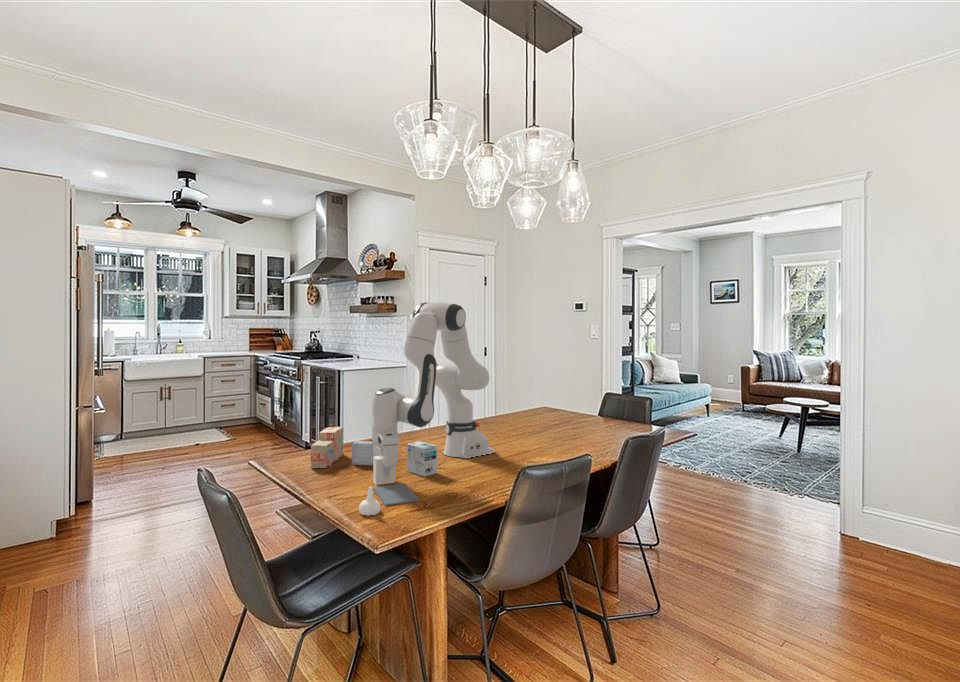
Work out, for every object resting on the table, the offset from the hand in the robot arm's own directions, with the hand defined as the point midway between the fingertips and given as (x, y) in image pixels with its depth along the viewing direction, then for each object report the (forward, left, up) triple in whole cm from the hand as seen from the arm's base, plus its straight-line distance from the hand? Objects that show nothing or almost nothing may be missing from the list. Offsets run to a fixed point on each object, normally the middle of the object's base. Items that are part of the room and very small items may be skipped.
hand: (384, 473), depth 174 cm
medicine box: (+2, -26, -3) cm, 26 cm away
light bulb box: (-16, -6, -3) cm, 17 cm away
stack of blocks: (+14, -35, -4) cm, 38 cm away
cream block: (0, 0, -3) cm, 3 cm away
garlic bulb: (+11, +26, -4) cm, 29 cm away
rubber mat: (0, +15, -3) cm, 15 cm away
